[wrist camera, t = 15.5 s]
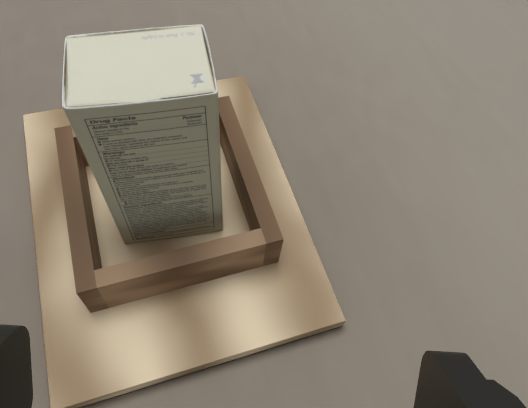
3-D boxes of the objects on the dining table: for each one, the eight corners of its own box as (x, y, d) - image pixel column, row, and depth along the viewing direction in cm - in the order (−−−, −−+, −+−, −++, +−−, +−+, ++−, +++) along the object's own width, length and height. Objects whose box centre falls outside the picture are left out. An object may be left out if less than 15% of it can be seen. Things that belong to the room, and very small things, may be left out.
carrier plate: (243, 85, 38) (245, 44, 34) (342, 325, 28) (358, 302, 25) (28, 124, 34) (6, 83, 31) (57, 414, 25) (30, 401, 21)
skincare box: (214, 175, 32) (209, 20, 21) (224, 234, 30) (224, 92, 19) (116, 187, 31) (62, 29, 20) (119, 248, 29) (60, 107, 18)
